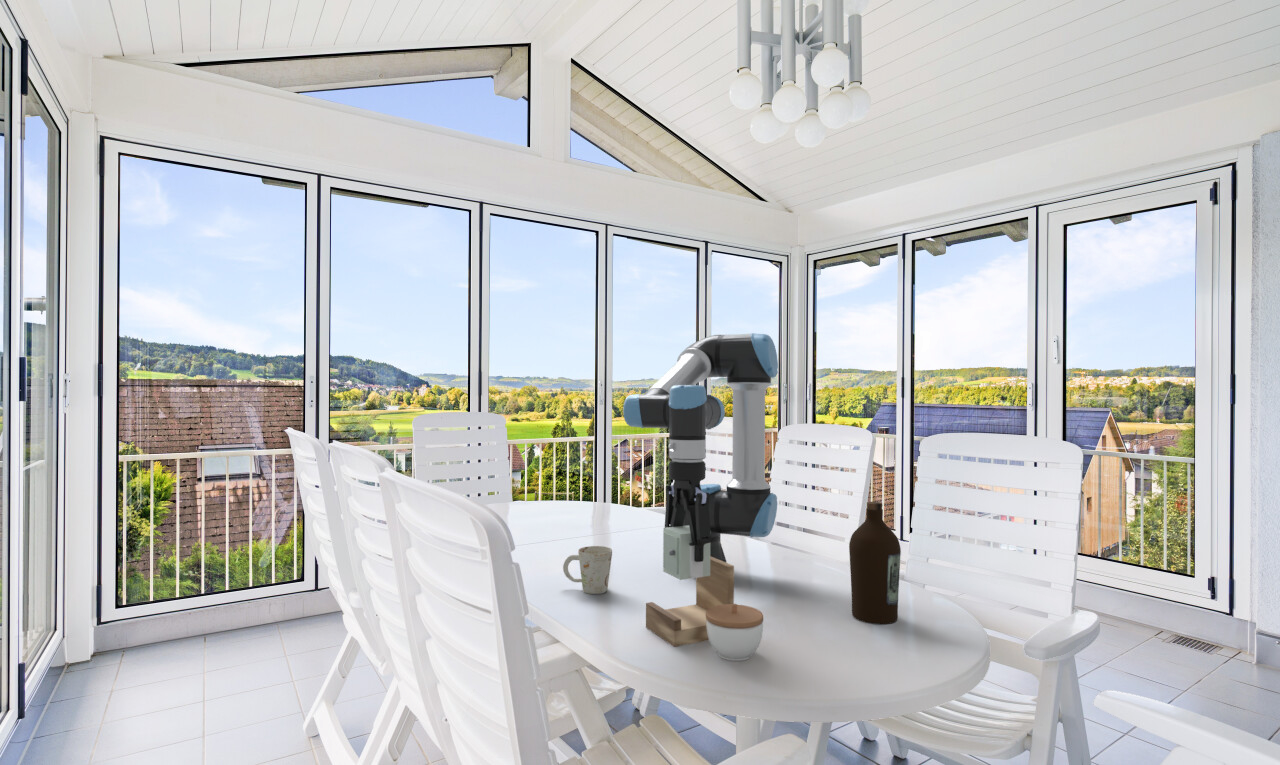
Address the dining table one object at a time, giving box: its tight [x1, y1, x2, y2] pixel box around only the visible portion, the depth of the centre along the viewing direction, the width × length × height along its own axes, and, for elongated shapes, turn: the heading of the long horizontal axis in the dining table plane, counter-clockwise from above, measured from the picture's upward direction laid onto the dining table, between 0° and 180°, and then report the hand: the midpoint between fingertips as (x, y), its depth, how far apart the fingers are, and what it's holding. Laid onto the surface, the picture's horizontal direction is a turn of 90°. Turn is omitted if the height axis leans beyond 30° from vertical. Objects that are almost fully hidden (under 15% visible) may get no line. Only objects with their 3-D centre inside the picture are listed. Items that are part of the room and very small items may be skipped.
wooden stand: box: [645, 556, 735, 648], centre depth 137 cm, size 14×12×14 cm
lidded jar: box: [706, 603, 764, 662], centre depth 125 cm, size 11×11×9 cm
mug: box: [562, 545, 613, 595], centre depth 165 cm, size 8×13×10 cm, turn 78°
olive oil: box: [848, 501, 902, 625], centre depth 146 cm, size 11×11×25 cm
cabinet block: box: [662, 525, 710, 581], centre depth 136 cm, size 8×7×9 cm
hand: (686, 572), depth 137 cm, fingers closed on cabinet block, 7 cm apart
